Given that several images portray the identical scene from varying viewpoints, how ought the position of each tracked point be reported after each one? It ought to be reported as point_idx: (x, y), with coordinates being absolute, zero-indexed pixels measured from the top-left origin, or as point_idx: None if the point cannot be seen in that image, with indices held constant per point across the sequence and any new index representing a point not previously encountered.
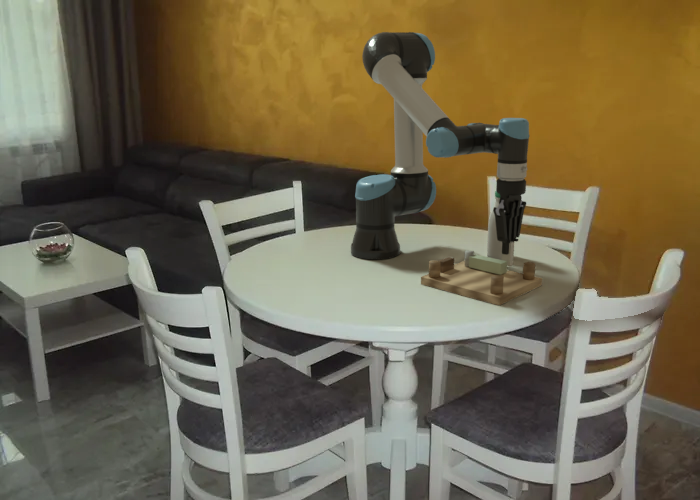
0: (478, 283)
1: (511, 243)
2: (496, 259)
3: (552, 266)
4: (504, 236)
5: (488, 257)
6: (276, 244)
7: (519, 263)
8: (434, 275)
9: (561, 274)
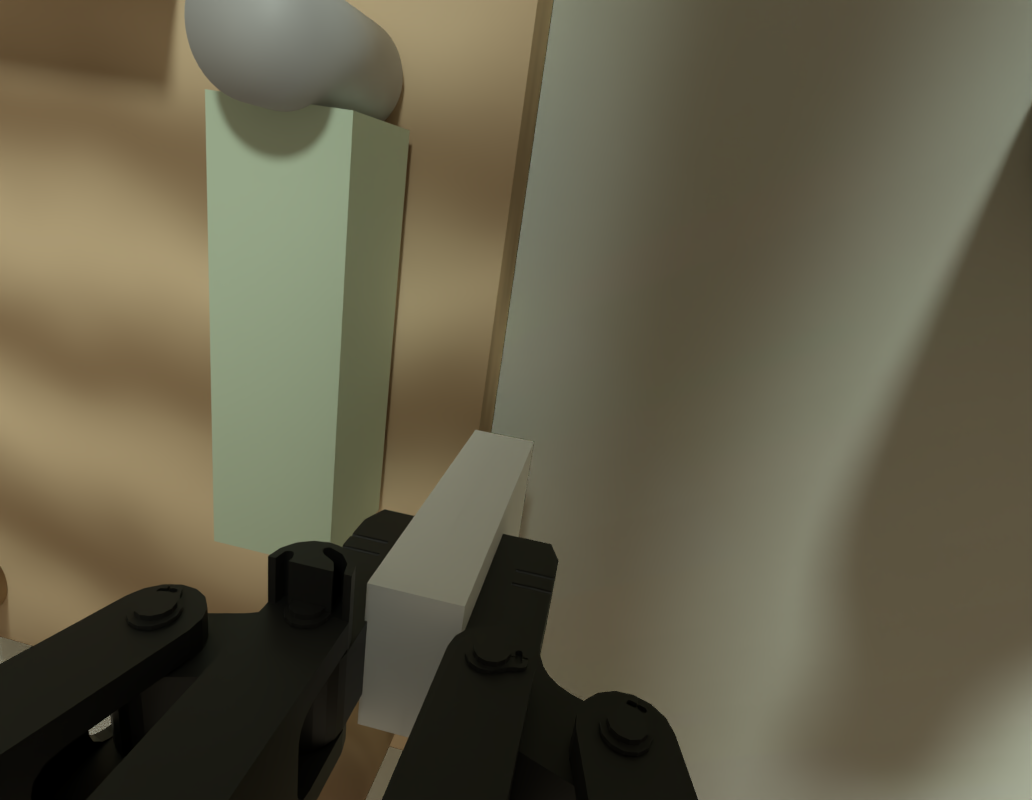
0: (17, 400)
1: (371, 717)
2: (316, 449)
3: (1027, 701)
4: (43, 797)
5: (334, 334)
6: None
7: (1014, 413)
8: None
9: (796, 787)
